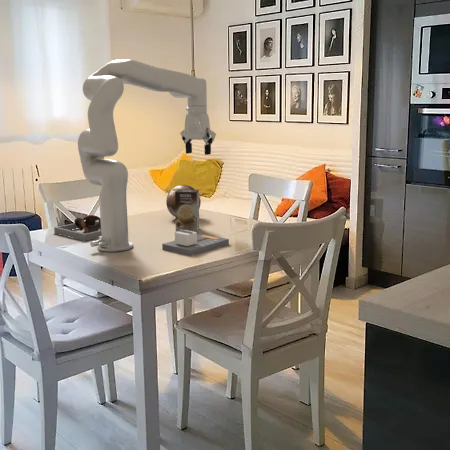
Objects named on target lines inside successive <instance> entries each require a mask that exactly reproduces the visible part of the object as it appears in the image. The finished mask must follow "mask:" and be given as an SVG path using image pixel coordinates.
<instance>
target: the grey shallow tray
mask: <svg viewBox="0 0 450 450" xmlns="http://www.w3.org/2000/svg"><path fill="white" fill-rule="evenodd" d="M98 223H99V220H97V221H95V225H96V224H98ZM76 228H78V227H77V226H76V225H75V223H74V222H73V223H69V224H64V225H60V226H54V228H53V231H54V234H55V233H57V234H56V235H59V234H61V235H60V236H63V235H66V236H65V237H67V236H70V237H69V238H71V237H73V238H72V239H75V238H76V239H75V240H79V239H80V240H79V241H83V240H84V241H83V242H86V240H87V241H90V239H92V240H95V239H99V237H100V236H101V229H99V230H98V231H95V232H91V233H86V234H84V232H80V231H76V230H77V229H76ZM72 229H76V230H72ZM71 230H72V231H71Z"/></svg>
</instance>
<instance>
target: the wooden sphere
mask: <svg viewBox="0 0 450 450" xmlns="http://www.w3.org/2000/svg"><path fill="white" fill-rule="evenodd" d="M177 189H186V190H196V188H194V187H193V186H191V185H186V184H179V185H176V186H175V187H173V188H172V189H170V191H169V193H168V194H167V196H166V199H165V200H166V203H165V204H166V208H167V211H168V212H169V213H170V215H171V216H173V217H175V192H176V190H177ZM201 203H202V202H201V196H200V195H199V209H200V207H201Z"/></svg>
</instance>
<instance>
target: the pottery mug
mask: <svg viewBox="0 0 450 450" xmlns="http://www.w3.org/2000/svg"><path fill="white" fill-rule="evenodd" d="M95 221H99V223H98V224H96V225H95ZM73 223H75V225H76V226H77V227H78V228H79V229H78V230H79V232H80V231H83V233H84V234H86V233H91V232H95V231H100V230H101V222H100V216H99V215H98V216H97V215H95V214H89V215H85V216H83V217H82V218H81V217H76V218H75V219H74V221H73Z"/></svg>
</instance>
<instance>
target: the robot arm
mask: <svg viewBox="0 0 450 450" xmlns="http://www.w3.org/2000/svg"><path fill="white" fill-rule="evenodd" d="M124 85H131V86H134V87H139V88H142V89H145V90H149V91H152V92H153V91H154V92H160V93H161V92H163V93H165V92H167V93H169V95H171V96H172V97H174V98H177V99H179V98H180V99H182V98H183V99H184V98H186V99H187V107H186V109H185V111H187V113H186V115H185V119H184V129H183V130H182V131H181V132H180V133H179V134H180V135H181V139H182V141H183V143H184V144H185V154H192V153H193V147H192V146H193V144H192V141H193V140H200V141H201V140H202V141H203V142H204V147H203V148H204V155H206V156H207V155H208V156H209V155H211V154H212V144H213V142H214V141H215V138H216V136H217V133H215V132H214V131H213V130H212V129H211V126H210V125H211V124H210V117H209V114H208V107H207V105H208V104H207V103H208V101H207V98H208V97H207V95H208V93H207V90H208V89H207V80H206V79H205V78H201V77H199V78H198V77H196V76H194V75H191V74H187V73H185V72H181V71H175V70H171V69H166V68H161V67H158V66H154V65H151V64H148V63H145V62H141V61H138V60H135V59H130V58H128V59H127V58H126V59H125V58H124V59H115V60H111V61H110V62H109V61H108V63H106V64H105V65H103V66H102V67H100V68H98V69H97V71H94V72H93V73H92V74H91V75H89V76H88V77H87V78H86V79H85V80H84V82H83V84H82V93H83V95H84V97H85V98H86V99H87V100H89V101H90V103H89V106H88V108H87V121H88V127H89V128H86V129H84V130H83V131H81V133H80V134H79V136H78V139H77V150H78V154H79V159H80V164H81V167H82V168H81V169H82V171H83V175H84V177H85V179H86V180H87V182H89V183H90V184H92V185H96V186H101V189H100V194H99V196H98V197H99V200H98V201H99V202H98V204H99V218H100V222H101V228H100V230H101V236H100V237H99V238H97V240H92V241H91V242H90V243H89V244H90V247H91V248H94V247H97V249H98V250H99V251H101V252H108V253H109V252H110V253H111V252H113V253H114V252H123V251H127V250H130V249H132V248H133V247H134V243H133V242H132V241H129V225H128V205H127V202H128V201H127V200H128V199H127V190H128V189H127V187H128V186H127V185H128V180H129V172H128V168H127V166H126V165H125V164H124V163H123V162H122V161H120V160H116V159H109V158H107V157H113V156H115V155H116V154H117V152H118V150H119V141H118V137H117V131H116V126H115V121H114V111H115V110H114V109H115V106H116V104H117V103H118V102H119V100H120V99H121V97H122V96H123V94H124V89H125V88H124V87H125V86H124Z"/></svg>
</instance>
